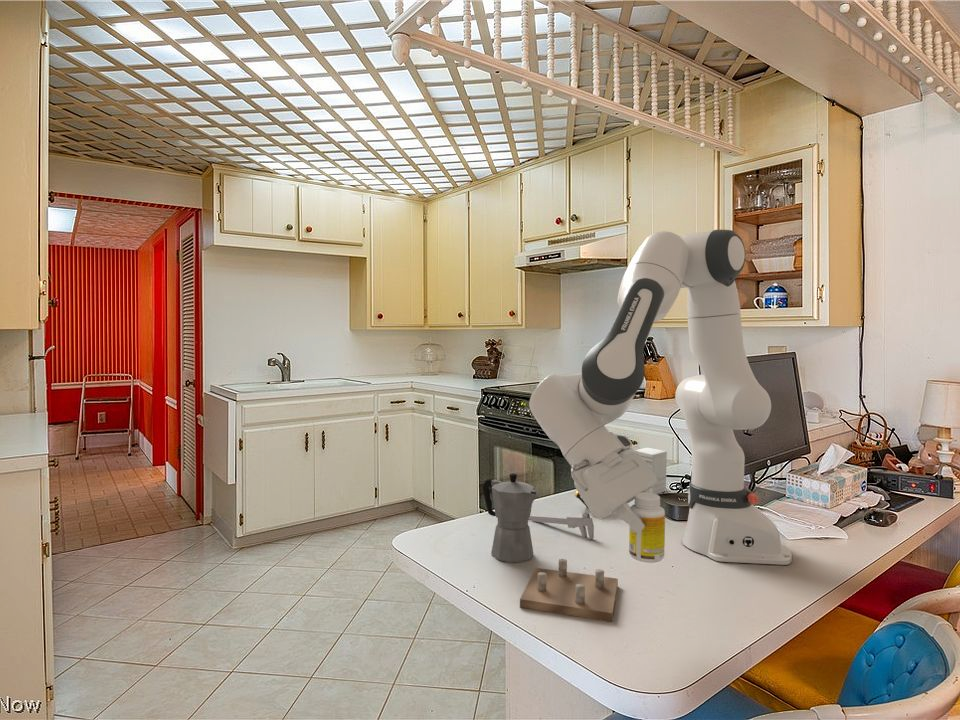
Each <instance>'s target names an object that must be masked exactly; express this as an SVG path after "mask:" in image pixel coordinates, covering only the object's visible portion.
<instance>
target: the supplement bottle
mask: <svg viewBox="0 0 960 720" xmlns="http://www.w3.org/2000/svg"><path fill="white" fill-rule="evenodd" d="M630 507H631V509H630V510H631V511H632V512H634V513H635V514H636V515H637V516H638V517H640V516H641V517H642V518H643V519H644V521H645V522H646V523H647V526H646V527H645V528H644V529H643V530H641V531H640V532H639V533H637V532H635V531H634V529H633V528H632V527H631V526H630V524H628V527H629V528H628V529H629V530H628V531H629V532H628V533H629V534H628V537H629V538H628V539H629V542H628V544H629V545H628V546H629V547H628V552H629V556H630V557H631V558H632V559H634V560H636V561H639V562H642V563H648V564H649V563H650V564H651V563H659V562H661V561H662V560H664V558H665V545H666V544H665V537H666V536H665V535H666V533H665V532H666V531H665V530H666V529H665V528H666V511H665V509H664V508H663V506H661V496H660V495H659V494H654V493H647V492H641V493H638V494H637V495H636V496H635V499H634V504H632V505H631V506H630Z"/></svg>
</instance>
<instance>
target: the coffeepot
mask: <svg viewBox="0 0 960 720" xmlns="http://www.w3.org/2000/svg"><path fill="white" fill-rule="evenodd" d="M517 476H518V474H517V473H513V472H512V473H509V481H501V480H498V479H493V478H490V477H489V478H486V479H485V481H484V482H483V483H482V485H481V490H482V493H483V497H484V498H483V499H484V502H485V507H486V510H487V514H489V515H490V516H492V517H496V518H497V524H496V525H495V528H494V529H495V530H494V534H493V535H494V536H493V540H492V541H493V542H492V547H491V551H490V552H491V553H490V554H491V555H492V557H493V558H494V557H495V558H494V559H496V560H497V559H498V561H501V562H503V561H505V563H510V562H511V563H514V564H516V563H517V564H518V563H523V562H527V561H529V560H531V559H532V557H533V555H534V546H533V543H532V536H531V530H530V529H531V528H530V526H529V520H530V519H529V517H530V516H531V514H532V513H531V512H532V507H533V503H534V501H535V500H536V498H538V497H539V492H537V491H536V490H535V486H533V485H531V484H530V483H527V482H522V481H517ZM490 488H491V492H492V498H491V492H490ZM492 499H493V501H492ZM493 507H494V510H493Z"/></svg>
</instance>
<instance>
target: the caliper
mask: <svg viewBox="0 0 960 720" xmlns="http://www.w3.org/2000/svg"><path fill="white" fill-rule="evenodd" d="M581 515H582V516H573V515H569V516H566V517H563V516H552V515H551V516H549V515H548V516H547V515H535V514H534V515H533V514H532V515H531V514H530V517H529V519H528V520H529V521H530V520H532V521H531V522H533V521H535V522H534V523H544V524H557V525H567V528H568V529H575V528H579V531H580V533H581V536H582V538H583V539H587V538H589V541H590V540H593V539H594V537H595V535H594V534H595V526H594V521H593V518H592V517H591V515H590V512H588V513H586V512H582V514H581Z"/></svg>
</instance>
